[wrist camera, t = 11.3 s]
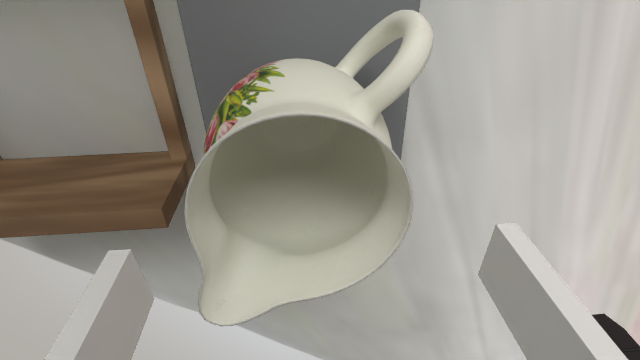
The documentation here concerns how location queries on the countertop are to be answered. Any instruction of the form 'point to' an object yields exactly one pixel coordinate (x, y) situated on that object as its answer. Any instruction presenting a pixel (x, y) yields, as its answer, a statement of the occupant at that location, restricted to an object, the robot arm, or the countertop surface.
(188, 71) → the countertop surface
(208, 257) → the pitcher
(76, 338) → the robot arm
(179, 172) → the walnut cradle
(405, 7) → the rubber mat
